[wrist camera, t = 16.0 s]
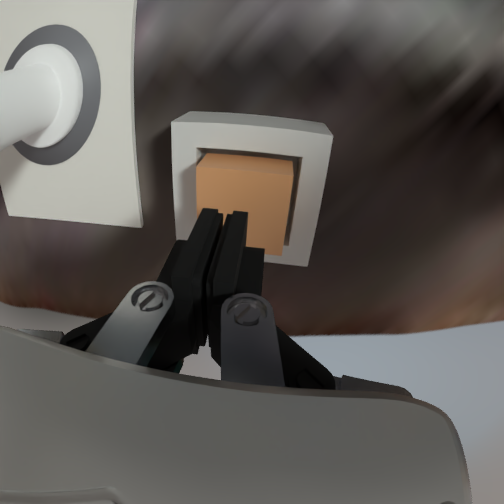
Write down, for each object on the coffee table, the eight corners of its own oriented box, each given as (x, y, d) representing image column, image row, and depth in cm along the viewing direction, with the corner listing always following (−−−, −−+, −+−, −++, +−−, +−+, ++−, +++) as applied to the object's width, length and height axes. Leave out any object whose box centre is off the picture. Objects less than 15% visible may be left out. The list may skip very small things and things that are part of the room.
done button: (292, 161, 13) (293, 176, 12) (282, 233, 16) (281, 256, 14) (207, 152, 14) (196, 166, 12) (206, 225, 16) (197, 246, 14)
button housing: (324, 123, 14) (333, 135, 12) (304, 237, 19) (307, 266, 16) (190, 111, 15) (171, 121, 12) (191, 224, 19) (177, 251, 17)
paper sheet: (145, -60, 8) (141, -62, 8) (143, 224, 19) (140, 228, 19) (-8, 5, 9) (-13, 5, 8) (11, 213, 20) (8, 216, 19)
